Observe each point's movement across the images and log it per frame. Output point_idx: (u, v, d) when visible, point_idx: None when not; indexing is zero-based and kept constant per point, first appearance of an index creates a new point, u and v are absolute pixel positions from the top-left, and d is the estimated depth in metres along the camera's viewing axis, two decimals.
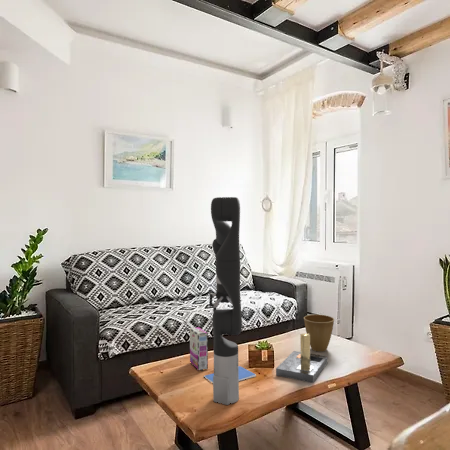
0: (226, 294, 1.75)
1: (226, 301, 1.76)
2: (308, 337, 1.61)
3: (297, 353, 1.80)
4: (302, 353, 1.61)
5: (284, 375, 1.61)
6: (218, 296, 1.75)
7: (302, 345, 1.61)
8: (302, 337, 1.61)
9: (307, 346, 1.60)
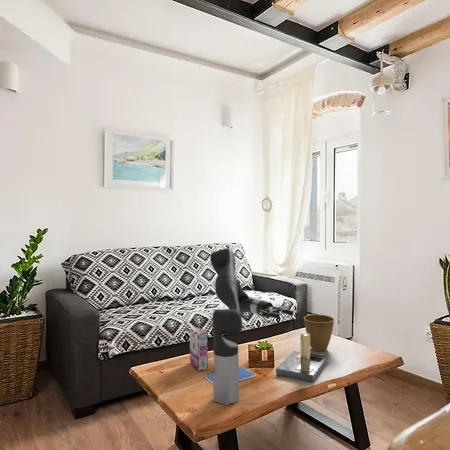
0: (271, 307, 1.80)
1: (276, 309, 1.77)
2: (308, 337, 1.61)
3: (297, 353, 1.80)
4: (302, 353, 1.61)
5: (284, 375, 1.61)
6: (267, 309, 1.77)
7: (302, 345, 1.61)
8: (302, 337, 1.61)
9: (307, 346, 1.60)
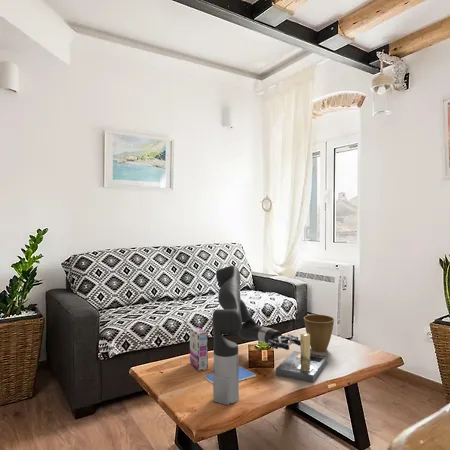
0: (280, 337, 1.75)
1: (285, 339, 1.73)
2: (308, 337, 1.61)
3: (297, 353, 1.80)
4: (302, 353, 1.61)
5: (284, 375, 1.61)
6: (275, 339, 1.72)
7: (302, 345, 1.61)
8: (302, 337, 1.61)
9: (307, 346, 1.60)
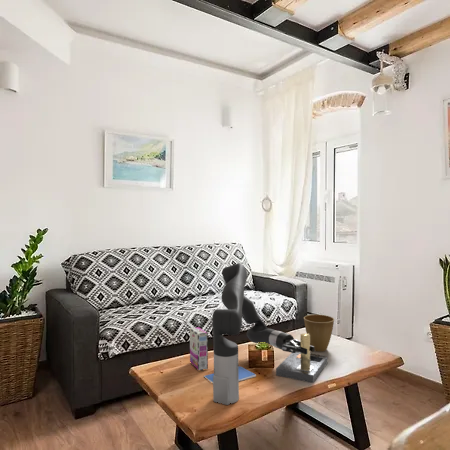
0: (292, 341, 1.69)
1: (296, 343, 1.67)
2: (308, 337, 1.61)
3: (297, 353, 1.80)
4: (302, 353, 1.61)
5: (284, 375, 1.61)
6: (289, 343, 1.66)
7: (302, 345, 1.61)
8: (302, 337, 1.61)
9: (307, 346, 1.60)
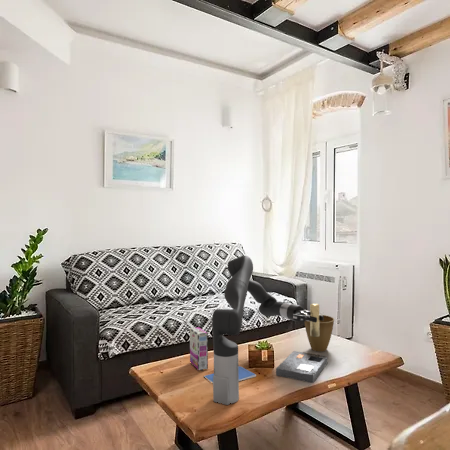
0: None
1: (305, 313, 1.76)
2: (318, 306, 1.71)
3: (297, 353, 1.80)
4: (312, 322, 1.71)
5: (284, 375, 1.61)
6: (299, 313, 1.76)
7: (312, 314, 1.71)
8: (312, 306, 1.71)
9: (317, 315, 1.70)
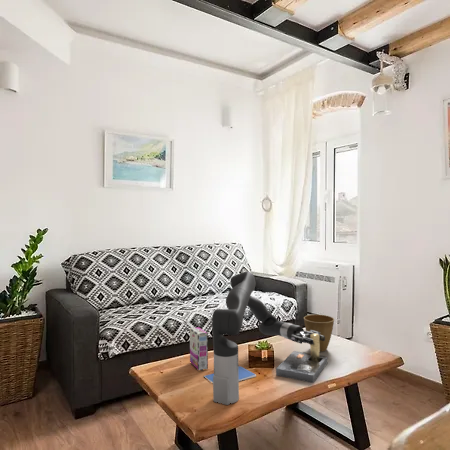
0: (302, 332, 1.80)
1: (307, 334, 1.77)
2: (318, 337, 1.71)
3: (297, 353, 1.80)
4: (312, 352, 1.71)
5: (284, 375, 1.61)
6: (298, 334, 1.76)
7: (312, 344, 1.71)
8: (312, 337, 1.71)
9: (317, 345, 1.71)
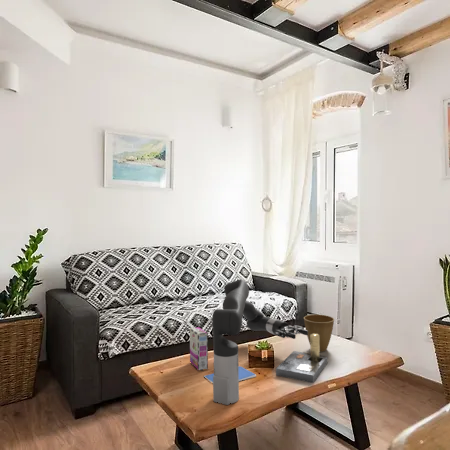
0: (286, 327, 1.88)
1: (291, 329, 1.85)
2: (318, 337, 1.71)
3: (297, 353, 1.80)
4: (312, 352, 1.71)
5: (284, 375, 1.61)
6: (282, 329, 1.85)
7: (312, 344, 1.71)
8: (312, 337, 1.71)
9: (317, 345, 1.71)
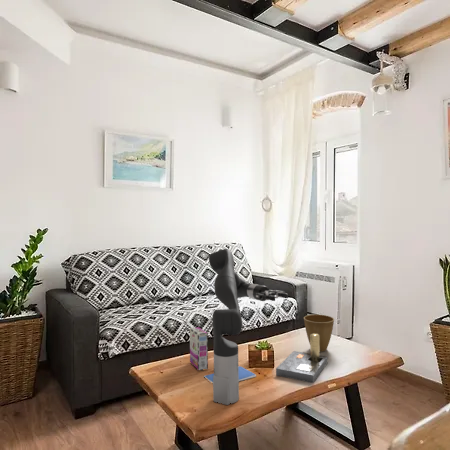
0: (267, 291, 1.86)
1: (272, 292, 1.84)
2: (318, 337, 1.71)
3: (297, 353, 1.80)
4: (312, 352, 1.71)
5: (284, 375, 1.61)
6: (263, 292, 1.83)
7: (312, 344, 1.71)
8: (312, 337, 1.71)
9: (317, 345, 1.71)
